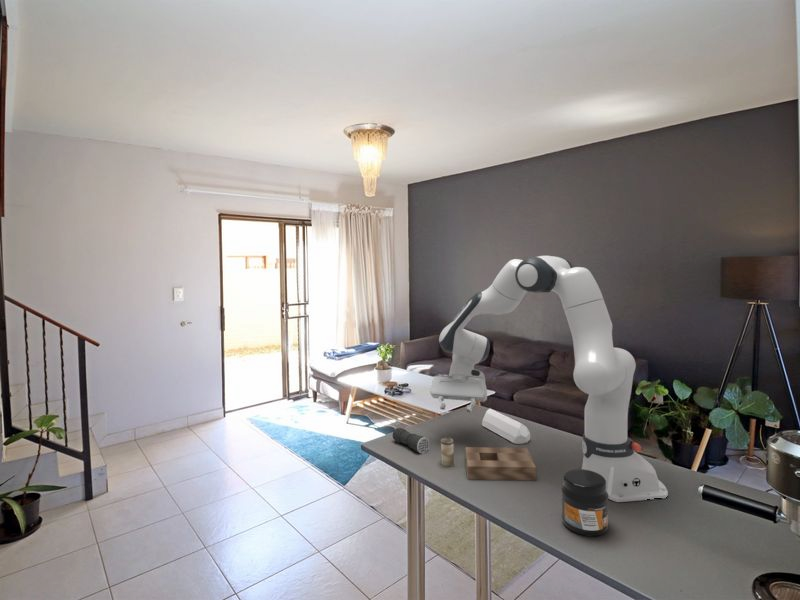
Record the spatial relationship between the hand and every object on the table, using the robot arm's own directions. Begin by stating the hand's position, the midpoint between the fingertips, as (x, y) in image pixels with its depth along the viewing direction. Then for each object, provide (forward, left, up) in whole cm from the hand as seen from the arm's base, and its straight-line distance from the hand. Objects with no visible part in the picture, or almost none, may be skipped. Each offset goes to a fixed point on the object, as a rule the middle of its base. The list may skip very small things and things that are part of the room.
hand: (455, 410), depth 151 cm
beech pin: (+3, +12, -14) cm, 19 cm away
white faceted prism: (-19, -15, -15) cm, 28 cm away
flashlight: (+16, -2, -15) cm, 22 cm away
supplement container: (-30, +44, -14) cm, 55 cm away
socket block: (-13, +15, -14) cm, 24 cm away
